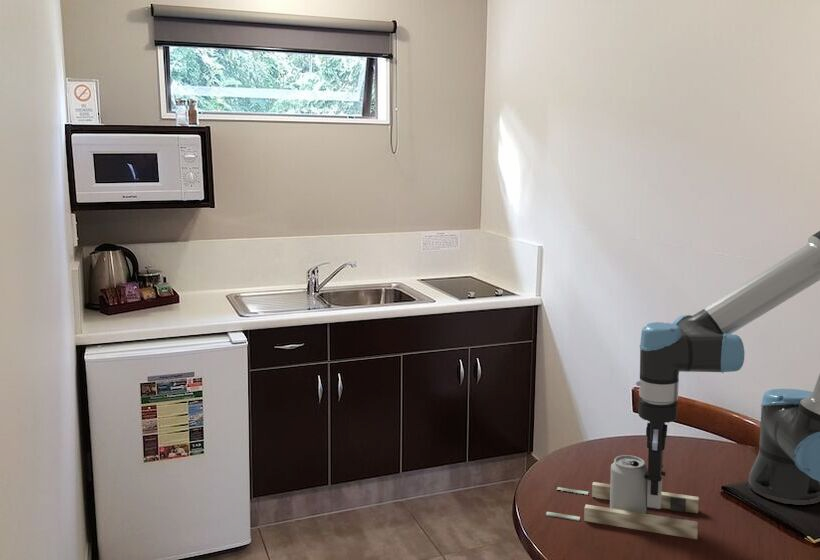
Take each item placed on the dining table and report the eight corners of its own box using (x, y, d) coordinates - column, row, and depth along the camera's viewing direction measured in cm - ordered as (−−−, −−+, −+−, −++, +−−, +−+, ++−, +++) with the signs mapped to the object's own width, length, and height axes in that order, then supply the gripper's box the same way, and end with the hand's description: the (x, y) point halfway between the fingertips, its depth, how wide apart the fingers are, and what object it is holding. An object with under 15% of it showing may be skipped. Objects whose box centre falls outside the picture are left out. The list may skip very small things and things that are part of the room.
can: (648, 523, 150) (649, 469, 148) (610, 520, 152) (611, 466, 150) (644, 506, 158) (646, 454, 155) (608, 503, 159) (610, 451, 157)
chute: (698, 509, 156) (698, 496, 155) (697, 540, 144) (697, 526, 143) (557, 488, 167) (557, 476, 166) (545, 515, 155) (545, 502, 154)
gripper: (641, 387, 155) (637, 490, 160) (635, 407, 144) (632, 518, 148) (678, 390, 153) (674, 495, 157) (676, 411, 141) (671, 524, 145)
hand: (653, 506), depth 152 cm, fingers closed
